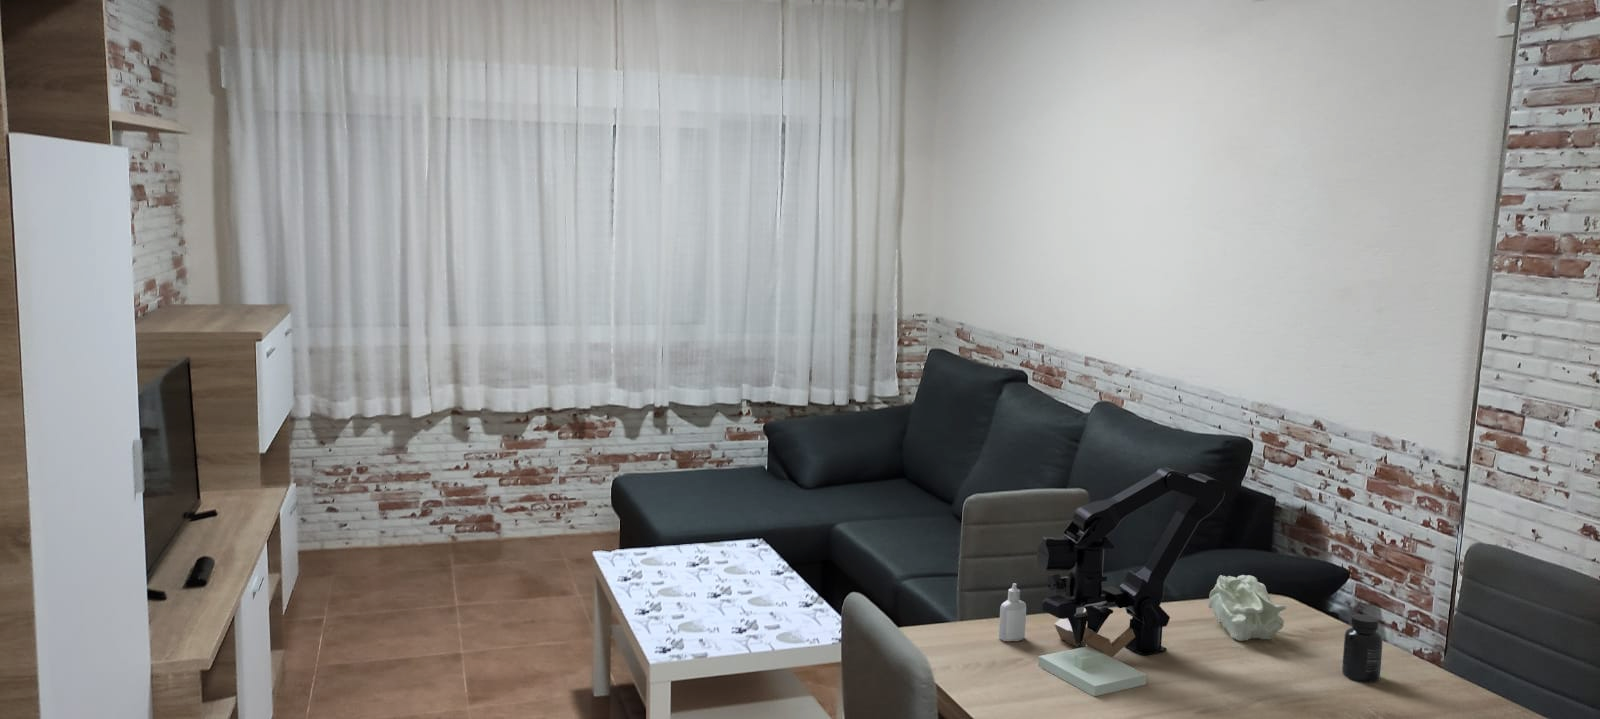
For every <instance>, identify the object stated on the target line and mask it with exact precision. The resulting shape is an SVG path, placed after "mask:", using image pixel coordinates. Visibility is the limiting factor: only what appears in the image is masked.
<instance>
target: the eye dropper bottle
mask: <svg viewBox="0 0 1600 719" xmlns="http://www.w3.org/2000/svg"><path fill="white" fill-rule="evenodd" d="M1020 599H1021V590H1020V589H1018V586H1017V583H1014V582H1013V583H1012V586H1011V588H1008V592H1007V599H1006V600H1005V601H1004V602H1002V603H1001V605H1000V608H999V610H1000V611H999V622H998V623H999V626H998V627H999V628H998V638H1000V640H1001V641H1002V642H1005V641H1009V642H1008V643H1011V642H1010V641H1015V642H1019V641H1022V640H1023V639H1024V640H1025V637H1026V623H1027V621H1026V620H1027V619H1026V618H1027V604H1026V602H1024V601H1023V600H1020ZM1017 640H1018V641H1017Z"/></svg>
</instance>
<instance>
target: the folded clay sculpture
mask: <svg viewBox="0 0 1600 719" xmlns="http://www.w3.org/2000/svg"><path fill="white" fill-rule="evenodd" d="M1208 596H1209V601H1208V609H1212V612H1213V615H1214V617H1215V619H1217V620H1218V621H1220V622H1221V623H1220V622H1219V623H1220V624H1221V625H1222V627H1223V628H1224V629H1225V630H1227V633H1229V635H1230V638H1232V639H1233V638H1234V640H1235V639H1236V640H1235V641H1237V642H1238V641H1240V642H1241V641H1242V642H1243V641H1244V640H1247V639H1249V640H1251V639H1255V638H1262V639H1261V640H1263V639H1268V640H1272V639H1273V638H1274V636H1275V635H1276V634H1277V633H1278V632H1279V631H1280V630H1282V629H1283V627H1284V623H1285V622H1284V621H1285V620H1284V619H1283V617H1281V616H1280V615H1279V614H1280V612H1281V611H1282V612H1283V611H1285V610H1286V609H1287V606H1286V605H1284V604H1276V603H1274V602H1273V601H1272V599H1271V597H1270V596H1269V593H1268V591H1267V587H1266V585H1265V584H1264V583H1262V582H1259V581H1258V579H1257V577H1255V576H1253V575H1249V574H1248V575H1245V574H1241V575H1238V576H1237V577H1236V576H1231V575H1228V576H1226V575H1223V574H1222V575H1221V574H1220V575H1219V576H1218V577H1217V580H1216V584H1214V588H1213V589H1211V590H1210V592H1209V595H1208ZM1217 620H1216V621H1217ZM1218 621H1217V622H1218ZM1247 641H1248V640H1247Z"/></svg>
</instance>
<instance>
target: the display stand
mask: <svg viewBox="0 0 1600 719" xmlns="http://www.w3.org/2000/svg"><path fill="white" fill-rule="evenodd" d="M1037 662H1038V664H1037V666H1038V667H1039V668H1041V669H1043V670H1045V671H1047V672H1048V673H1051V674H1053V676H1056V677H1058V678H1060V679H1062V680H1064V681H1066V682H1067V683H1069V684H1071V685H1073V686H1074V687H1076V688H1078V689H1079V690H1081V691H1084V692H1085V693H1086V694H1088V695H1090V696H1093V697H1098V696H1103V695H1106V694H1111V693H1114V692H1119V691H1124V690H1128V689H1134V688H1136V687H1141V686H1146V684H1147V674H1146V673H1144V672H1142V671H1140V670H1138V669H1136V668H1133V667H1132V666H1130V665H1129V664H1126V663H1124V662H1121V661H1120V660H1117V659H1116V658H1114V657H1110V656H1108V655H1106V654H1104V653H1102V652H1100V651H1098V650H1096V649H1094V648H1092V647H1090V646H1087V645H1086V646H1083V647H1077V648H1073V649H1069V650H1062V651H1057V652H1053V653H1047V654H1042V655H1039V656H1038V661H1037Z"/></svg>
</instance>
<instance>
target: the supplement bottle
mask: <svg viewBox="0 0 1600 719" xmlns="http://www.w3.org/2000/svg"><path fill="white" fill-rule="evenodd" d="M1350 620H1351V621H1350V627H1349V628H1347V629H1346V630H1345V632H1344V638H1343V639H1344V641H1343V651H1342V652H1343V653H1342V667H1341V668H1342V669H1341V672H1342V675H1343V676H1344V677H1346V678H1347V677H1348V679H1349V680H1353V681H1356V682H1360V681H1361V682H1360V683H1376V682H1378V681H1379V680H1380V679H1381V672H1382V658H1383V656H1382V655H1383V645H1384V644H1383V643H1384V642H1383V641H1384V638H1383V635H1382V634H1381V632H1379V631H1378V630H1379V619H1378V618H1377V617H1375V616H1373V615H1372V616H1371V615H1368V614H1353V615H1351V618H1350Z"/></svg>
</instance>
